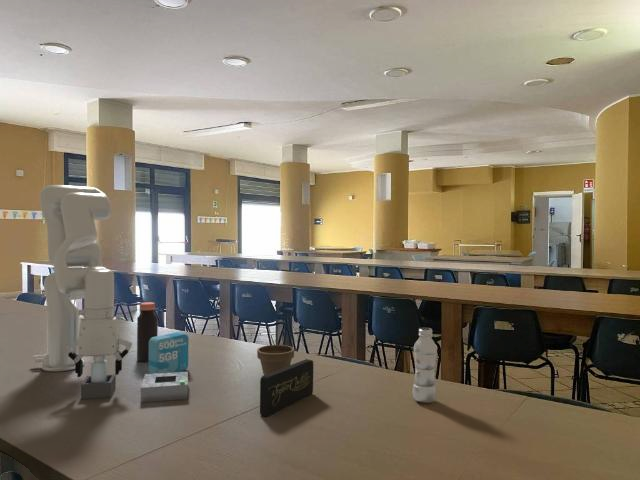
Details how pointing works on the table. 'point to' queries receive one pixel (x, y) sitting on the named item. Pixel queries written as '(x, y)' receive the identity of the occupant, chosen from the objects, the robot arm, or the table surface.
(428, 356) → the plastic bottle
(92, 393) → the grey open box
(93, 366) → the plug
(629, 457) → the table surface
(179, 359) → the data package
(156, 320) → the vinegar
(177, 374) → the port
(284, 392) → the nameplate
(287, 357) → the flower pot
